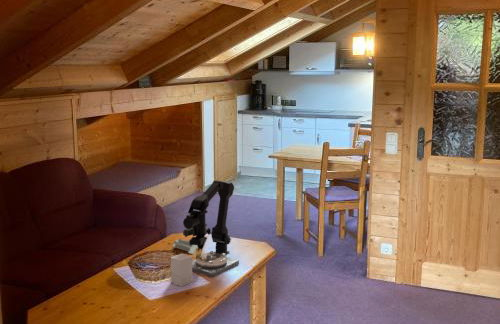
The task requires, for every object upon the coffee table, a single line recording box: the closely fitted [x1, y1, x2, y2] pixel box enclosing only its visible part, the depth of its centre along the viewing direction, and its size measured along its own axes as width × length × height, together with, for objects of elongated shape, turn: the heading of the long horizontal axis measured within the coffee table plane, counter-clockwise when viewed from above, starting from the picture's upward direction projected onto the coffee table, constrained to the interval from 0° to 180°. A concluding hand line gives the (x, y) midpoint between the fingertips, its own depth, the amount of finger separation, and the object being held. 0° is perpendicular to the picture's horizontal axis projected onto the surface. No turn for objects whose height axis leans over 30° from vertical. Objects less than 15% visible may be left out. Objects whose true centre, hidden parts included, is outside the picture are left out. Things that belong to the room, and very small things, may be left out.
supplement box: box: [170, 253, 193, 287], centre depth 251 cm, size 7×7×13 cm
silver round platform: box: [195, 247, 228, 268], centre depth 272 cm, size 16×16×7 cm
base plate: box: [192, 256, 240, 278], centre depth 273 cm, size 22×19×2 cm
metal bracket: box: [171, 238, 198, 255], centre depth 297 cm, size 14×6×15 cm
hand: (200, 251), depth 274 cm, fingers closed
